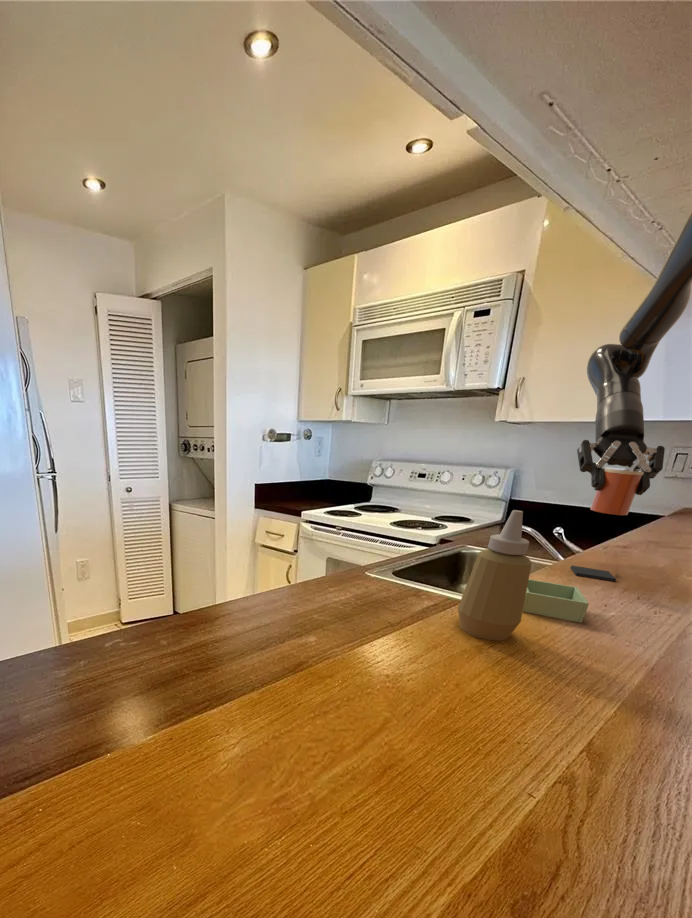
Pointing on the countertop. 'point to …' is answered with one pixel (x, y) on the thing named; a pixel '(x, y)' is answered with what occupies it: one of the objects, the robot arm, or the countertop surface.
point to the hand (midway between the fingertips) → (620, 489)
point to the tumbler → (617, 491)
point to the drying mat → (593, 573)
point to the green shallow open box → (555, 600)
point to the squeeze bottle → (497, 584)
